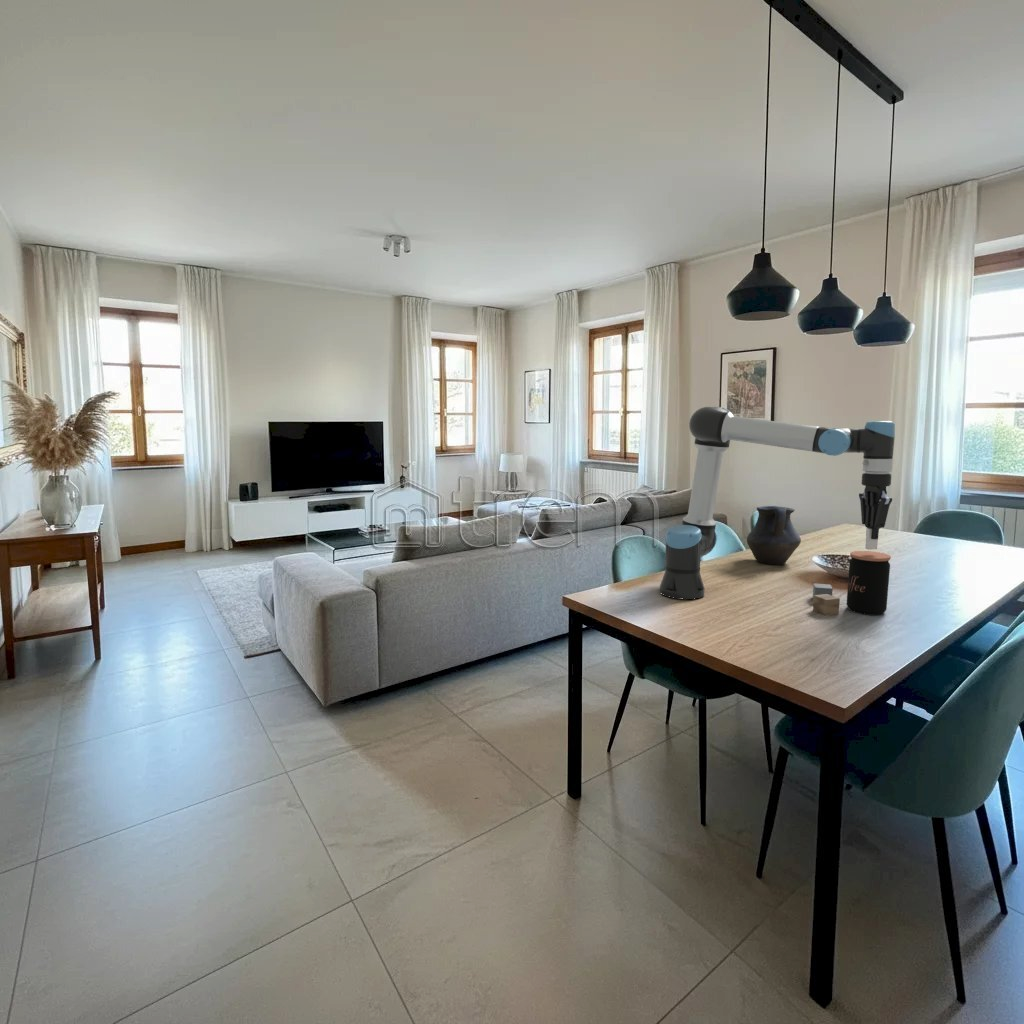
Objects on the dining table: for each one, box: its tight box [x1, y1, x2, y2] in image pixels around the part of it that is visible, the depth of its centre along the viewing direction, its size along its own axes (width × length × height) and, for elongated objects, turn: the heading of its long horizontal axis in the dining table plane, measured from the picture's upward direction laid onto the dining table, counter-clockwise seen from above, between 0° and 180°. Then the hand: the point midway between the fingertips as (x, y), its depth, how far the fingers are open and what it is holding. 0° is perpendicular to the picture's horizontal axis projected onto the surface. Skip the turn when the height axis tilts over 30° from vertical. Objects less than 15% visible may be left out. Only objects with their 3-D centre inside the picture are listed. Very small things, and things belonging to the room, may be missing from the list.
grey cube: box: [812, 583, 833, 600], centre depth 190 cm, size 5×5×5 cm
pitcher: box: [746, 505, 802, 566], centre depth 240 cm, size 21×22×25 cm
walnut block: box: [812, 594, 841, 616], centre depth 178 cm, size 5×5×5 cm
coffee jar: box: [846, 550, 892, 616], centre depth 178 cm, size 11×11×18 cm
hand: (871, 548), depth 176 cm, fingers closed
